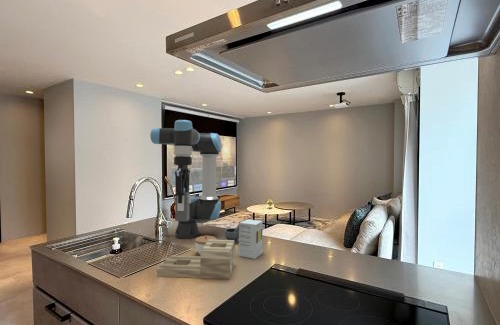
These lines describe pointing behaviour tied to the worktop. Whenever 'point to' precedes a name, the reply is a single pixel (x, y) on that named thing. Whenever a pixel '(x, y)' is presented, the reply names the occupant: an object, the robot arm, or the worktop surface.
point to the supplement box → (250, 238)
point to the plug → (184, 214)
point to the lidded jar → (202, 242)
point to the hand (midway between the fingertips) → (182, 209)
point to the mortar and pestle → (232, 234)
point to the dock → (202, 262)
